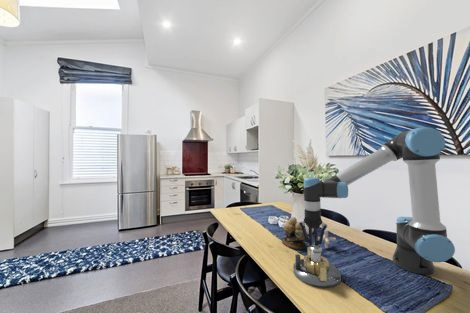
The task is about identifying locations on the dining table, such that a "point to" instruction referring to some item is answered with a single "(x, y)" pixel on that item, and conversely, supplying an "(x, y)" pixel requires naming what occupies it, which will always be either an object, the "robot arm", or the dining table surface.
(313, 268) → the beige segmented block
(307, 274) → the spigot plate
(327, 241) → the pipe connector
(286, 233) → the owl figurine
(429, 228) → the robot arm
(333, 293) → the dining table surface
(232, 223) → the dining table surface
